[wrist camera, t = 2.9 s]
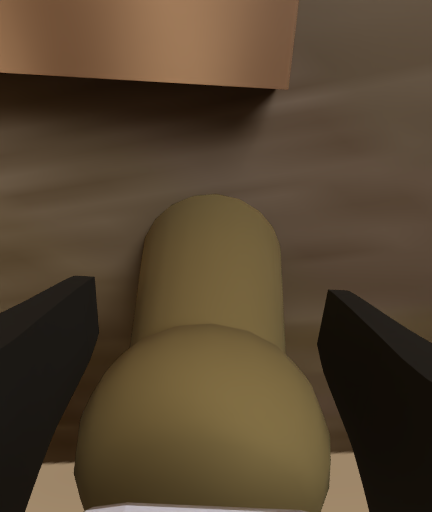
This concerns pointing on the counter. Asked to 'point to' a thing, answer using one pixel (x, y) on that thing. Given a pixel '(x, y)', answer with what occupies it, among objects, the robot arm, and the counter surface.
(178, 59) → the tan flat block
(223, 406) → the olive rounded piece
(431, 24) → the counter surface
